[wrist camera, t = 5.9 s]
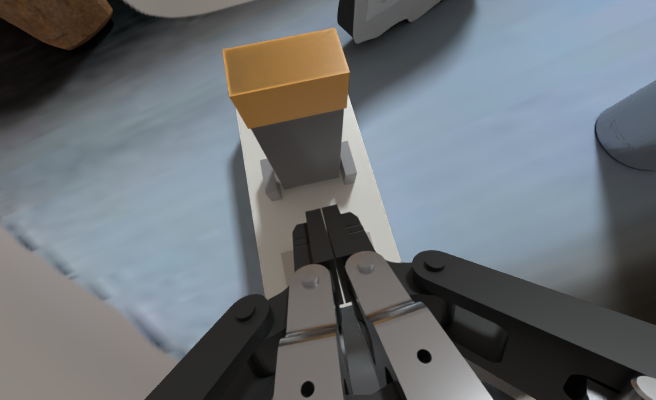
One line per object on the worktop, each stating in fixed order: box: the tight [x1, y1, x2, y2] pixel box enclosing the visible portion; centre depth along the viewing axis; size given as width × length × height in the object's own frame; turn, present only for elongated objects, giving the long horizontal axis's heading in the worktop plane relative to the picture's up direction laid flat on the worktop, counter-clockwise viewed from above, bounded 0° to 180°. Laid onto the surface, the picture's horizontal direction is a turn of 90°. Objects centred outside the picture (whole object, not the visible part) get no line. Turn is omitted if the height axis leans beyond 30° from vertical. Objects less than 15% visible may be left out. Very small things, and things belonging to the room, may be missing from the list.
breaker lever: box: [223, 28, 350, 189], centre depth 17 cm, size 5×3×13 cm, turn 104°
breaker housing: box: [236, 95, 401, 308], centre depth 25 cm, size 12×24×8 cm, turn 13°
